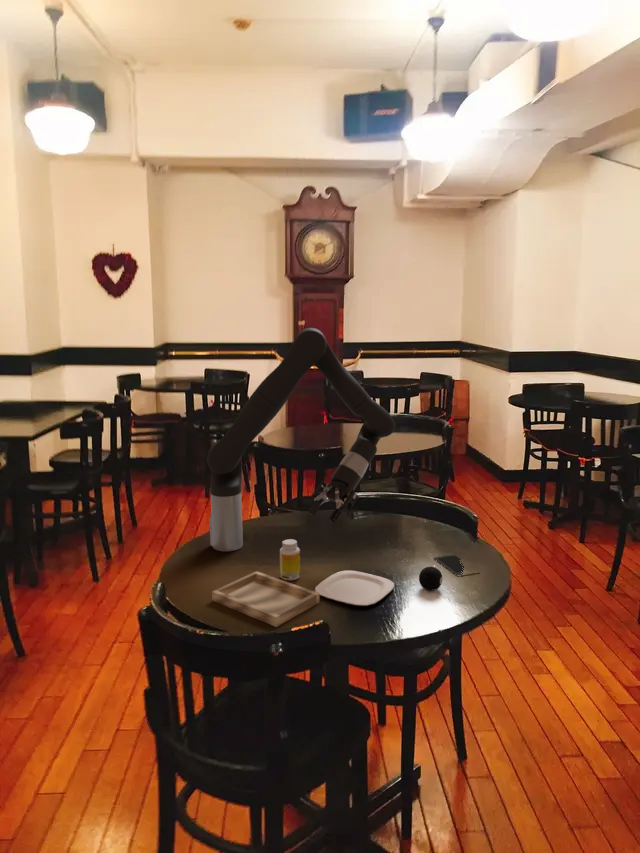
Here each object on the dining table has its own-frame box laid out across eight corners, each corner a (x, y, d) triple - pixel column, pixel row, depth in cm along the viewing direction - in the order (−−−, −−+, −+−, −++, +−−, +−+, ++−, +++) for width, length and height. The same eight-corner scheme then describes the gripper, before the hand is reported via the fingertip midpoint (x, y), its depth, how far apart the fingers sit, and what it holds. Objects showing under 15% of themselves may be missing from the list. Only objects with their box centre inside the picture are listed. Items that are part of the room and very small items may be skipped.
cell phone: (457, 578, 184) (457, 575, 184) (432, 559, 197) (432, 557, 197) (481, 574, 187) (481, 571, 187) (454, 556, 200) (454, 553, 200)
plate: (369, 614, 164) (369, 608, 164) (306, 597, 174) (306, 591, 173) (401, 587, 179) (401, 581, 179) (342, 572, 189) (342, 566, 188)
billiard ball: (437, 596, 173) (438, 574, 172) (415, 591, 176) (415, 569, 175) (445, 587, 178) (445, 565, 177) (423, 582, 181) (424, 561, 180)
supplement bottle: (303, 578, 184) (303, 543, 182) (284, 582, 182) (284, 546, 180) (295, 571, 189) (294, 536, 187) (277, 575, 186) (276, 540, 184)
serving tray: (212, 600, 171) (212, 591, 171) (256, 579, 184) (256, 571, 183) (276, 627, 158) (276, 617, 157) (319, 602, 170) (319, 593, 169)
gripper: (327, 459, 198) (297, 505, 193) (361, 468, 187) (330, 517, 182) (340, 473, 202) (311, 518, 197) (374, 483, 192) (345, 531, 186)
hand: (320, 518), depth 190 cm, fingers open, 8 cm apart
